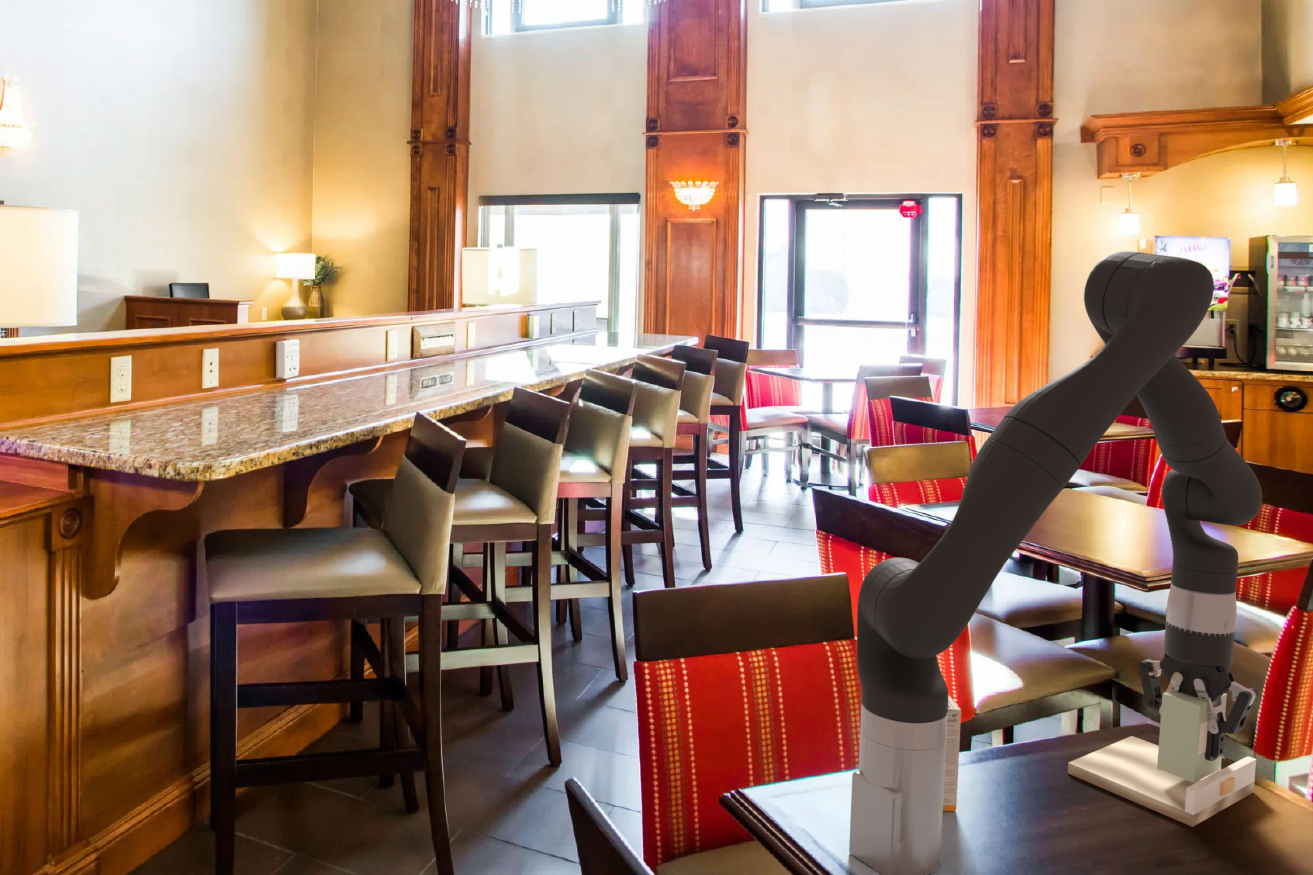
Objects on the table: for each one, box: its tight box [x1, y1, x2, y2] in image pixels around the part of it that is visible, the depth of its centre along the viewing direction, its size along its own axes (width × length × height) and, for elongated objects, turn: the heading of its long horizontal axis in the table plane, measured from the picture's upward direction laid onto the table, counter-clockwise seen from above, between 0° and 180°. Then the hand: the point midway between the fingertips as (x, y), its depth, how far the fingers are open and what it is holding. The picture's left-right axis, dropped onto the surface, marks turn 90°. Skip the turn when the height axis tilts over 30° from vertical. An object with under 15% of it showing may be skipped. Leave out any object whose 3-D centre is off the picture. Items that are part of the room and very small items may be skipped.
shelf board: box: [1067, 735, 1257, 828], centre depth 117 cm, size 16×16×4 cm
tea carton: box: [1157, 691, 1228, 783], centre depth 114 cm, size 5×7×10 cm, turn 124°
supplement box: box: [943, 694, 962, 812], centre depth 113 cm, size 8×5×13 cm, turn 179°
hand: (1189, 750), depth 114 cm, fingers closed on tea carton, 4 cm apart
